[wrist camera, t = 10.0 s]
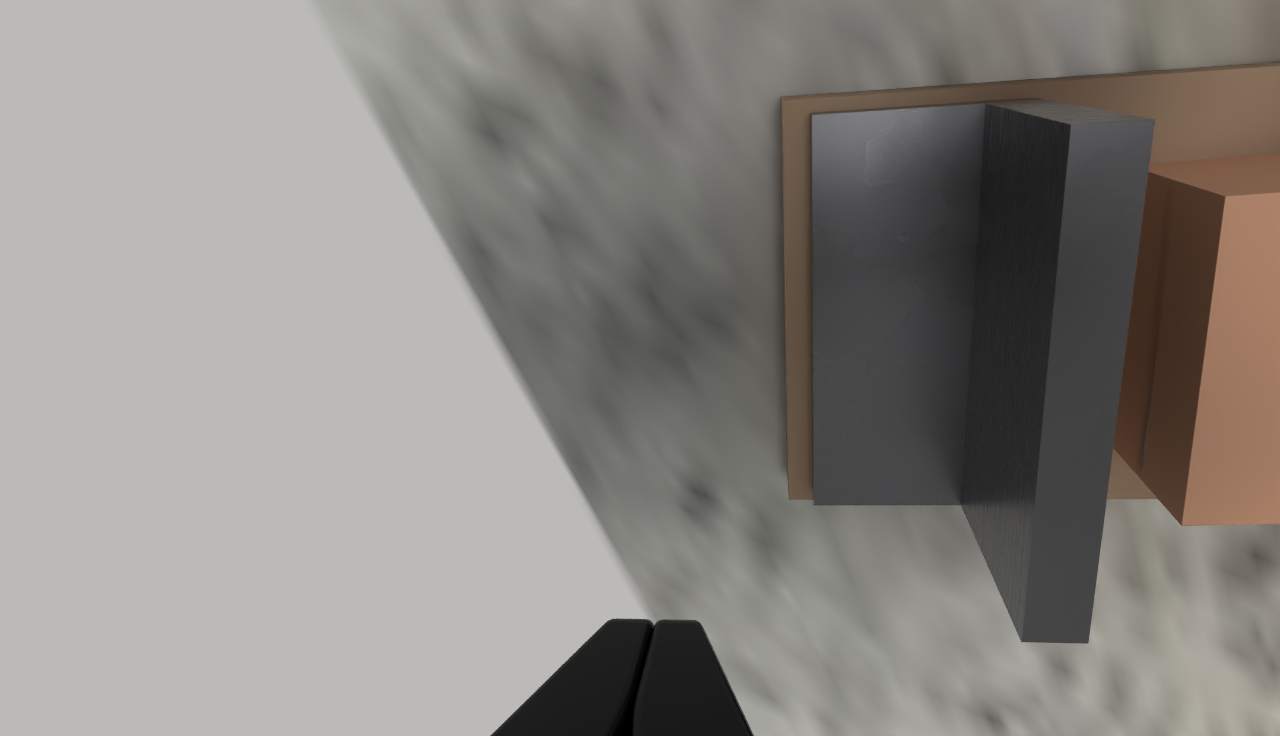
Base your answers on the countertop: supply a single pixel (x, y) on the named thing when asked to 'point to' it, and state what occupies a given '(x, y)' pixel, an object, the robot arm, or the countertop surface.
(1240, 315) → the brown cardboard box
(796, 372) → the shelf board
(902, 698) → the countertop surface
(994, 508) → the bookend
